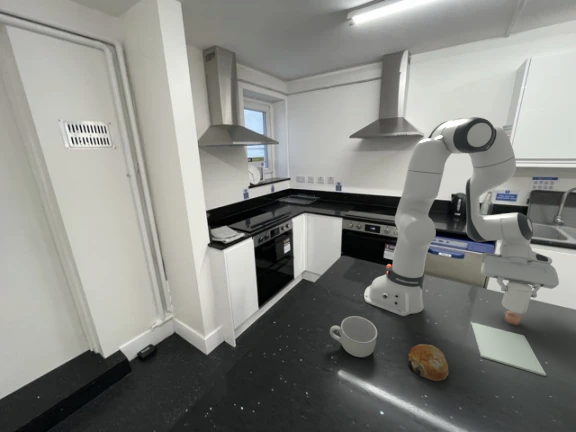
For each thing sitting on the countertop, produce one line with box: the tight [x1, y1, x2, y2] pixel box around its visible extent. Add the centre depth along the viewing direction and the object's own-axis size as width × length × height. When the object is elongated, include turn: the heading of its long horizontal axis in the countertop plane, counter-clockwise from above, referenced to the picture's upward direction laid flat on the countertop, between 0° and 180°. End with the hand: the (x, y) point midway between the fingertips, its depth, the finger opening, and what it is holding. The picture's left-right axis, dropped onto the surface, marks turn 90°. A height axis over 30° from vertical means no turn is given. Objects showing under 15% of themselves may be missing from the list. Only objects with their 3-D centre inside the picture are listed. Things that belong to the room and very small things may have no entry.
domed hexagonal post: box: [501, 281, 533, 315], centre depth 84 cm, size 6×6×9 cm
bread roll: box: [407, 343, 449, 382], centre depth 68 cm, size 10×10×8 cm
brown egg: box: [503, 310, 522, 326], centre depth 86 cm, size 4×4×3 cm
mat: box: [471, 322, 547, 377], centre depth 75 cm, size 14×16×1 cm
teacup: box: [329, 315, 378, 358], centre depth 75 cm, size 14×11×8 cm
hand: (518, 293), depth 83 cm, fingers closed on domed hexagonal post, 6 cm apart
